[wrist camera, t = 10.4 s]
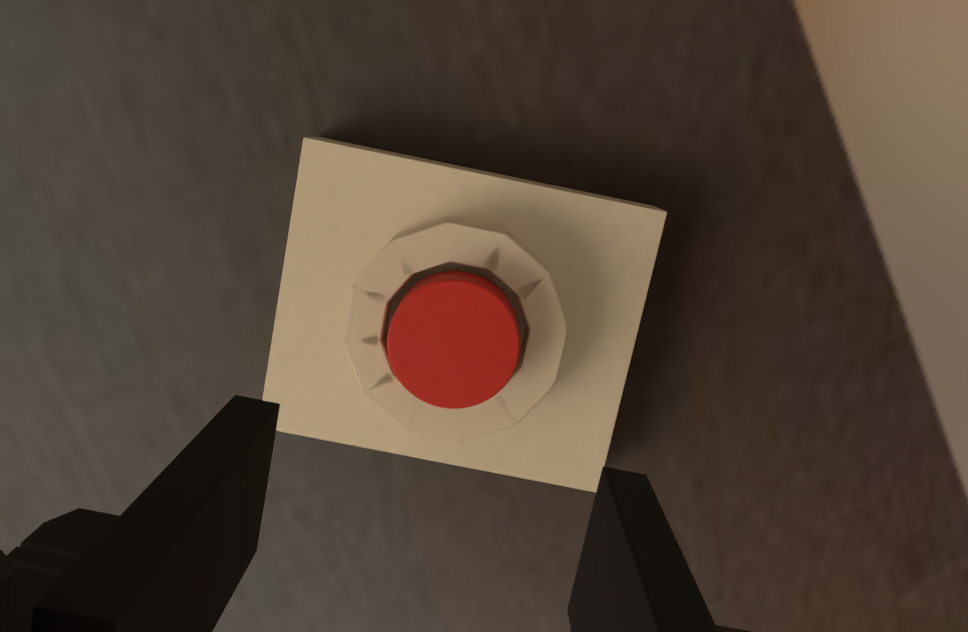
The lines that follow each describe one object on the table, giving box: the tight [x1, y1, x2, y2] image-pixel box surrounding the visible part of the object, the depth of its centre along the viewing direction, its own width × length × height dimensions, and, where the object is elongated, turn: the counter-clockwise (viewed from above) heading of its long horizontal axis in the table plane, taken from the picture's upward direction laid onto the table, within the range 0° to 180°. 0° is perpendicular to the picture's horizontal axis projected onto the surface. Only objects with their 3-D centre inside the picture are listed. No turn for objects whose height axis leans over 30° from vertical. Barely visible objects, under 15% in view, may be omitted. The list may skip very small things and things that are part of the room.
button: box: [387, 271, 520, 409], centre depth 27 cm, size 4×4×2 cm
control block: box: [263, 137, 667, 492], centre depth 29 cm, size 12×10×4 cm
